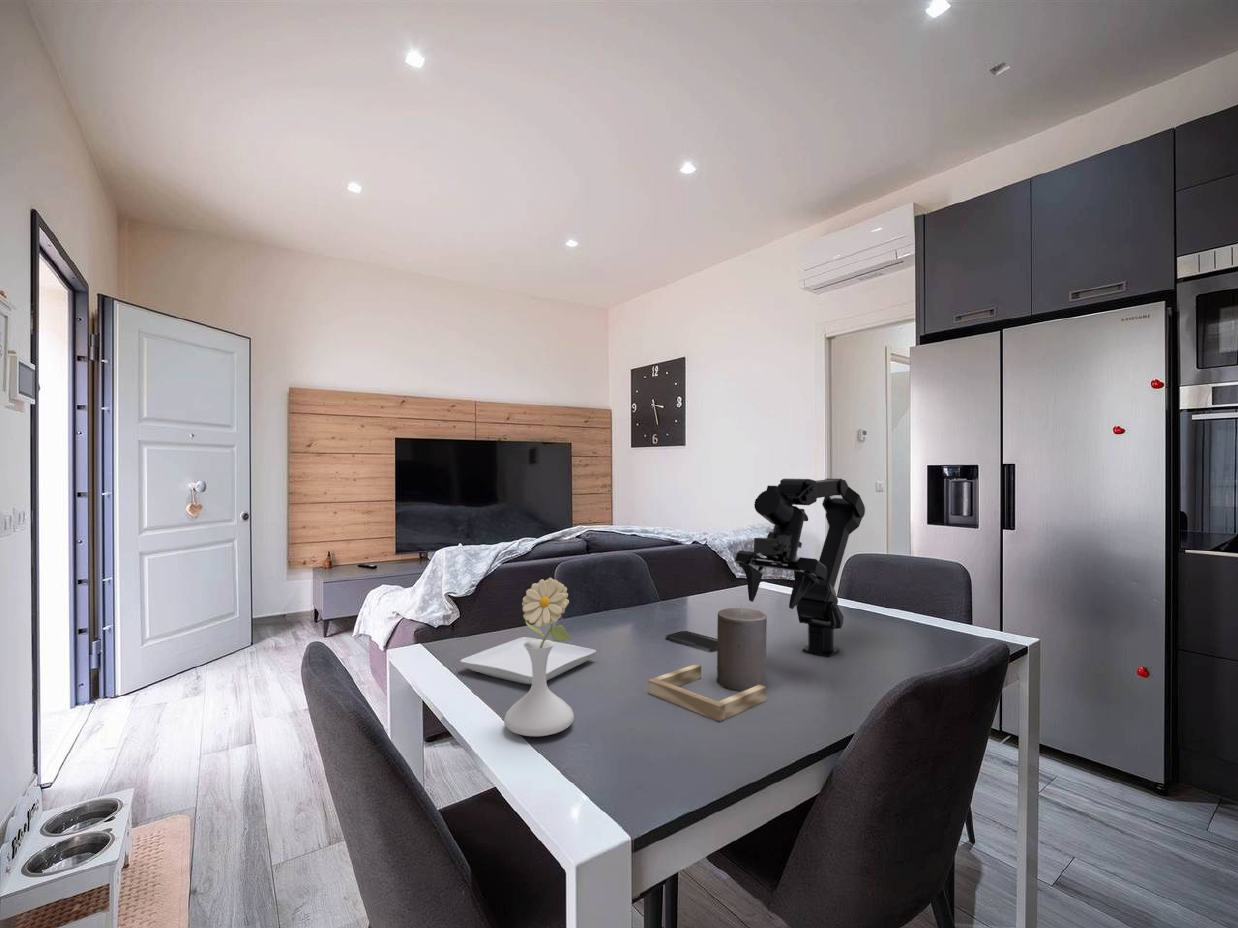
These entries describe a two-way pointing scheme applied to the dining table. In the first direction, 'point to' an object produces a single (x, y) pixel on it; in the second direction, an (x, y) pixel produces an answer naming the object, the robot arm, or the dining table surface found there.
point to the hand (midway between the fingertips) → (770, 604)
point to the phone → (694, 640)
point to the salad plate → (525, 660)
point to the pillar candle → (741, 648)
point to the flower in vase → (541, 665)
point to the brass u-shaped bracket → (718, 711)
